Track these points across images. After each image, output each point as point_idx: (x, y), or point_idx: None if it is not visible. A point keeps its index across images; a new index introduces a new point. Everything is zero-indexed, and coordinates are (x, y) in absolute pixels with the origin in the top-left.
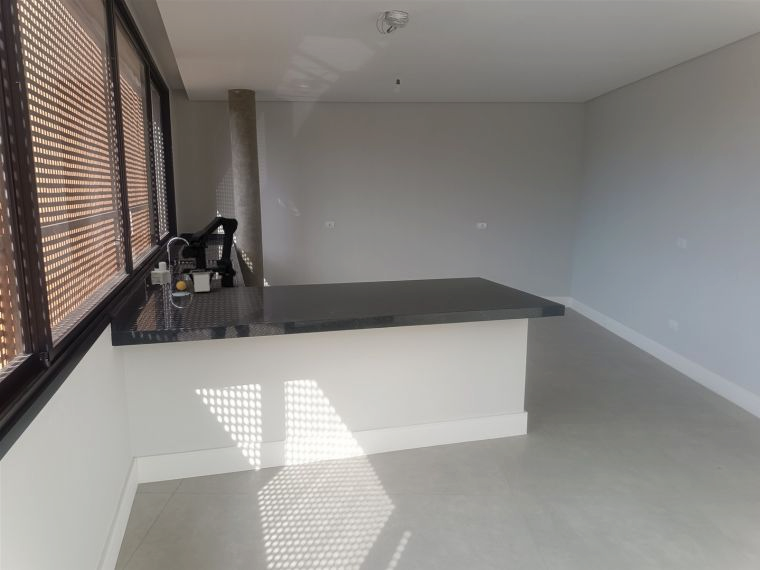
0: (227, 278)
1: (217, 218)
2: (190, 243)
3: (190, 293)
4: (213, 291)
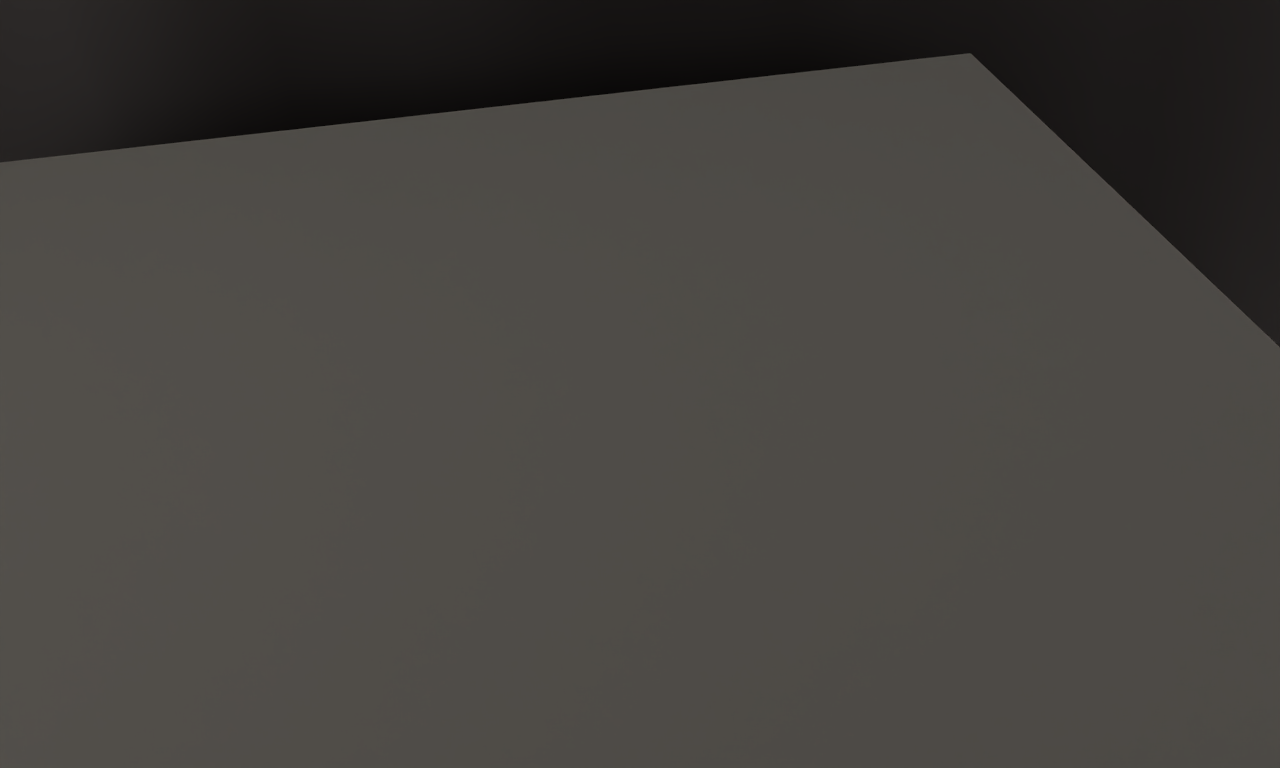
0: None
1: None
2: None
3: None
4: None
